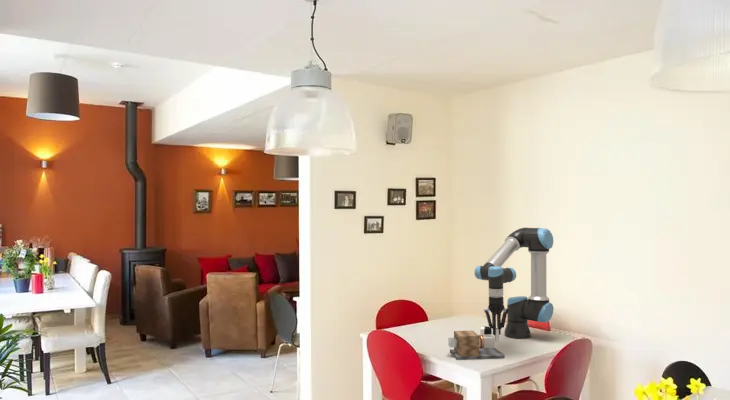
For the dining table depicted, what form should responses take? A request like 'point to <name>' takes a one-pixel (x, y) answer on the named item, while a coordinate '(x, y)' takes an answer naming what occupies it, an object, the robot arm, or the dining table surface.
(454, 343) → the shaft
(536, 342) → the dining table surface
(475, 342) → the bearing block
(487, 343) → the medicine bottle
